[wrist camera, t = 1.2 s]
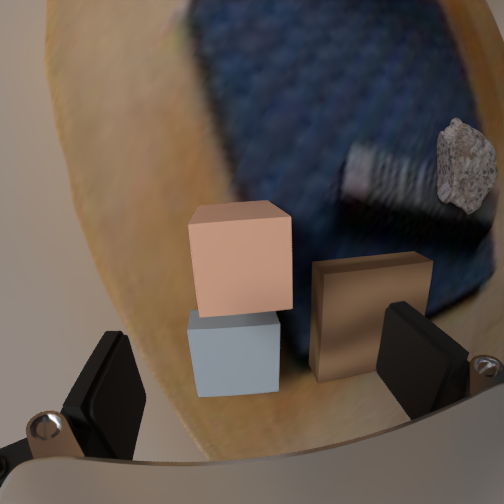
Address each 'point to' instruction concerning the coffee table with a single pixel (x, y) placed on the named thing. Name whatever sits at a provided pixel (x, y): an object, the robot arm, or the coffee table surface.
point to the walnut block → (359, 308)
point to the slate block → (235, 353)
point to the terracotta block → (241, 258)
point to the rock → (464, 166)
